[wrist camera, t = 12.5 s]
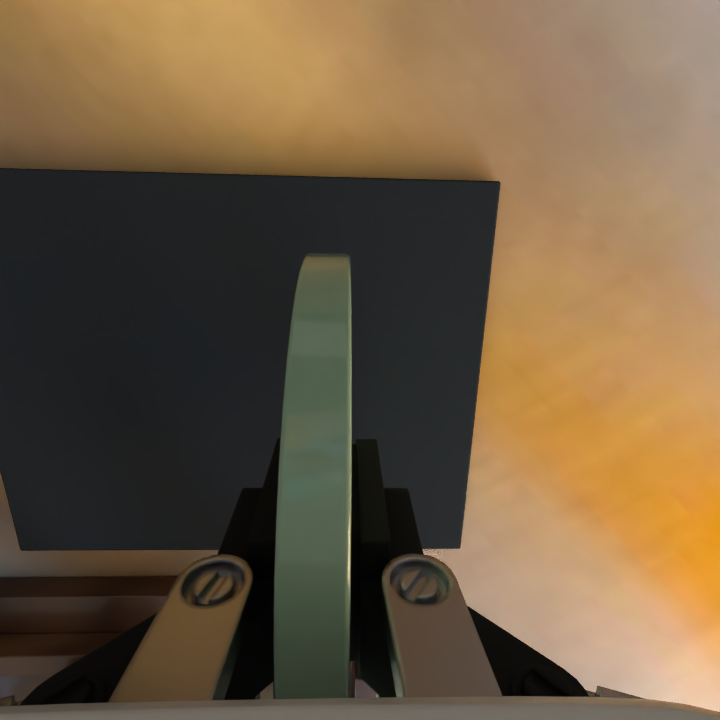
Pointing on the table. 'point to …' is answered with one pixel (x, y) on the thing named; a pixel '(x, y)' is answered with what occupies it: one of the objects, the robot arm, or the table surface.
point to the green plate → (315, 489)
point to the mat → (224, 343)
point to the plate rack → (77, 624)
